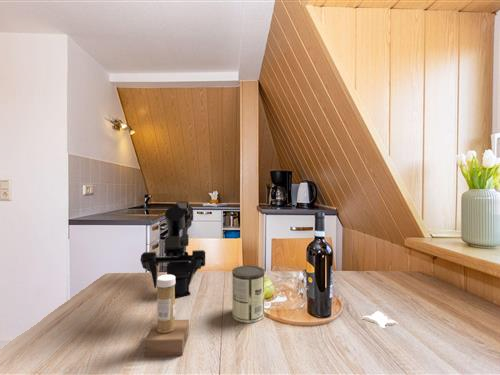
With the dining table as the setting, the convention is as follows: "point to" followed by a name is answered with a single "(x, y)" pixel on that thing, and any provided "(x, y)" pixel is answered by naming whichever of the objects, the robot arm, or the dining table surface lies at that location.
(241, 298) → the coffee can
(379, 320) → the acanthus leaf ornament
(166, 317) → the sprinkles bottle
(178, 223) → the robot arm
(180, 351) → the walnut box
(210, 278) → the dining table surface
